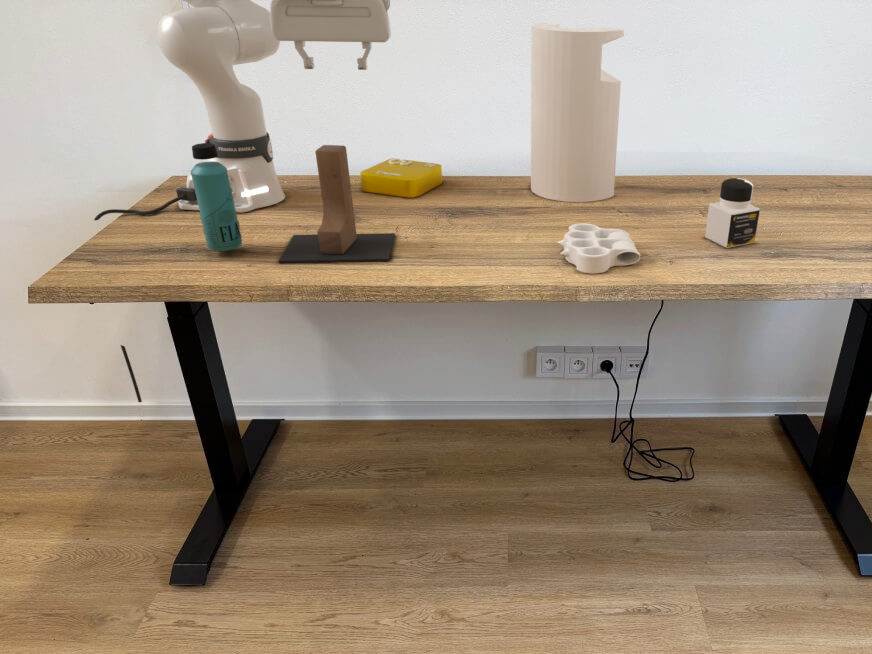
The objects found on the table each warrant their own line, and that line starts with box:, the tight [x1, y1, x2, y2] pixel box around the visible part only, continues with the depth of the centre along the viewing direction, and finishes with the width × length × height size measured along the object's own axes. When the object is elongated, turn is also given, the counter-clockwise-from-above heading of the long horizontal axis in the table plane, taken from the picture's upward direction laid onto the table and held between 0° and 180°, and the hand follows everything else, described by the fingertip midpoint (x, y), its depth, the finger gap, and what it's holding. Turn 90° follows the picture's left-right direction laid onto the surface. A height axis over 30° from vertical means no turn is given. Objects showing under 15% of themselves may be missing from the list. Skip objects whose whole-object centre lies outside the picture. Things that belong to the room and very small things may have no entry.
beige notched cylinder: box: [530, 22, 625, 203], centre depth 171 cm, size 35×11×21 cm
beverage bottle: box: [189, 142, 243, 252], centre depth 141 cm, size 6×7×20 cm
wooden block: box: [315, 144, 358, 254], centre depth 144 cm, size 9×4×18 cm, turn 174°
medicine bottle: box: [704, 177, 761, 249], centre depth 152 cm, size 7×7×12 cm
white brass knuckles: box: [556, 222, 641, 275], centre depth 146 cm, size 3×18×15 cm
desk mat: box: [278, 232, 396, 264], centre depth 149 cm, size 20×14×1 cm
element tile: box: [359, 157, 443, 199], centre depth 183 cm, size 15×15×5 cm
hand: (336, 69), depth 138 cm, fingers open, 8 cm apart
